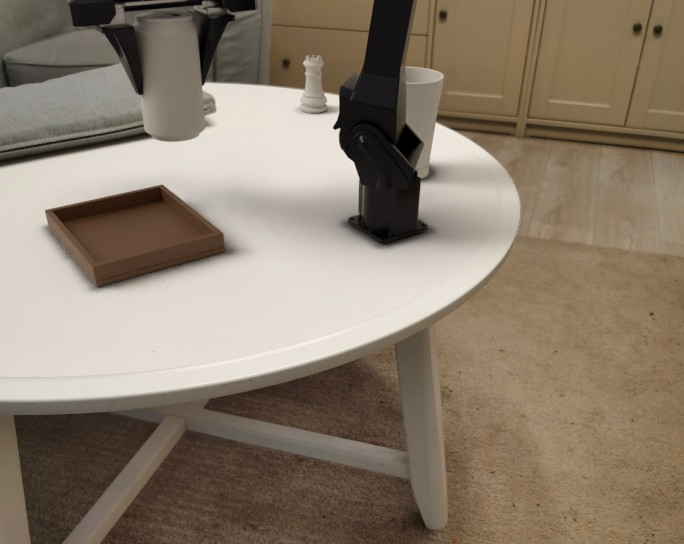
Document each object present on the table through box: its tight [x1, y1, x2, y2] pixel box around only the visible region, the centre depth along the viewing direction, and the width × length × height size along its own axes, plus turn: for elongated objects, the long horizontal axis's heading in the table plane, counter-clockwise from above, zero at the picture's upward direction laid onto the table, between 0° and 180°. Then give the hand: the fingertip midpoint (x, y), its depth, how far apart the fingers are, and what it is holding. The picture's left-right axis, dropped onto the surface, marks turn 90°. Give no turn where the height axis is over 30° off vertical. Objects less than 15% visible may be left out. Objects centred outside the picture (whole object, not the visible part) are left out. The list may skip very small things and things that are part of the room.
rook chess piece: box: [299, 54, 329, 114], centre depth 111 cm, size 4×4×8 cm
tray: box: [44, 184, 226, 288], centre depth 73 cm, size 15×13×2 cm
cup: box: [405, 66, 445, 180], centre depth 88 cm, size 8×8×12 cm
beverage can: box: [132, 10, 206, 143], centre depth 73 cm, size 6×6×12 cm
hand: (170, 89), depth 74 cm, fingers closed on beverage can, 6 cm apart
